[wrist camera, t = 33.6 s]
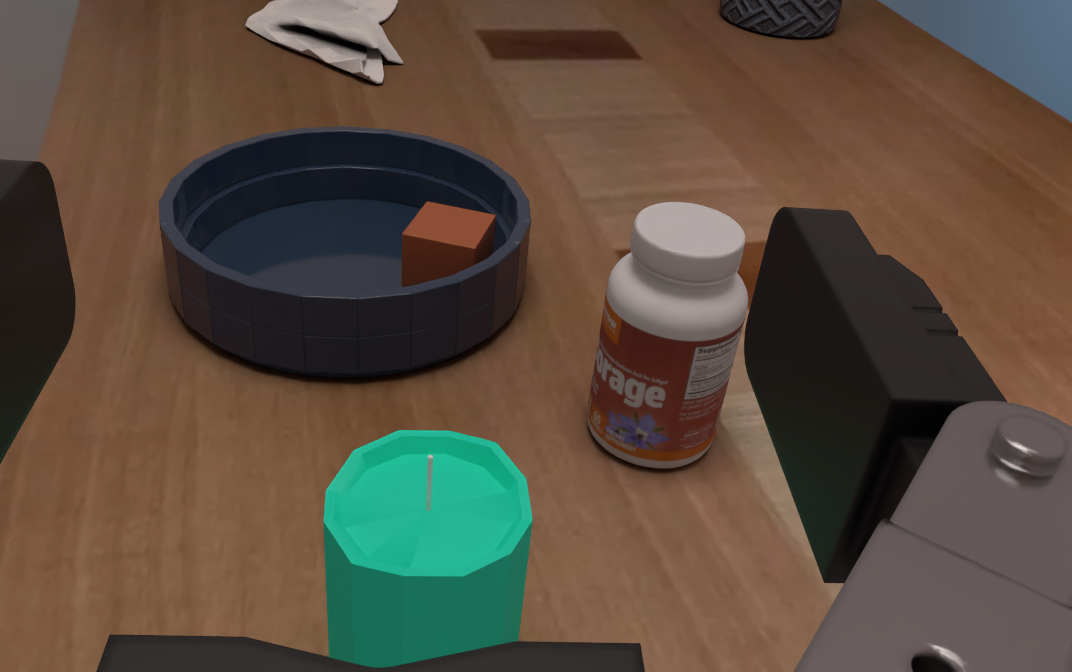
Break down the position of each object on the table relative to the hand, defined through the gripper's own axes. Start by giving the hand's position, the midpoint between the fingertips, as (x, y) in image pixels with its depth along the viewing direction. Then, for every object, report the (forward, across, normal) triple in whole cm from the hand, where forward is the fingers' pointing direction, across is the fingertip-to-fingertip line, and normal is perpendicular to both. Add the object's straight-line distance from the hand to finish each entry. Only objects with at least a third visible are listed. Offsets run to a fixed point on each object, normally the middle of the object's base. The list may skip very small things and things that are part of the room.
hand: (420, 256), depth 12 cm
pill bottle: (+27, -10, +25) cm, 38 cm away
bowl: (+39, +5, +25) cm, 47 cm away
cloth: (+81, +11, +25) cm, 86 cm away
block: (+38, -1, +24) cm, 45 cm away
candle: (+11, 0, +25) cm, 27 cm away
